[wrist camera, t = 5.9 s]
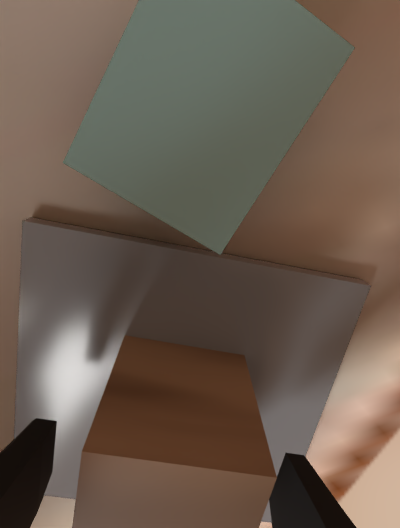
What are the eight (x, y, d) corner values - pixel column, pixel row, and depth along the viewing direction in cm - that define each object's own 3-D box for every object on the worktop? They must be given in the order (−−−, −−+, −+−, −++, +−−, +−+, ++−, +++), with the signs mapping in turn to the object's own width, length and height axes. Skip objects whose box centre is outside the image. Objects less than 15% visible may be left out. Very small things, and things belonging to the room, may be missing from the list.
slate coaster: (276, 510, 16) (279, 523, 15) (18, 478, 15) (11, 491, 14) (362, 279, 12) (370, 285, 12) (31, 217, 11) (22, 220, 11)
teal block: (210, 222, 12) (219, 254, 8) (107, 160, 11) (62, 162, 7) (294, 87, 10) (355, 48, 7) (184, 7, 10) (181, -90, 6)
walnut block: (218, 447, 14) (232, 599, 9) (109, 431, 13) (65, 582, 9) (244, 355, 12) (276, 477, 8) (124, 335, 12) (81, 451, 7)
